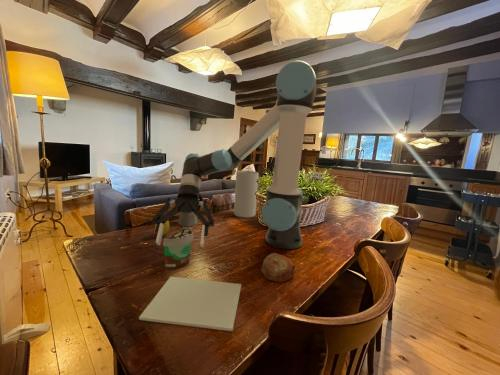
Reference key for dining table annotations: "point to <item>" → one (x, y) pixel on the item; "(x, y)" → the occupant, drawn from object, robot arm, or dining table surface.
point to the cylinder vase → (245, 194)
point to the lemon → (165, 227)
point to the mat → (195, 304)
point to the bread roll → (277, 267)
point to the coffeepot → (189, 217)
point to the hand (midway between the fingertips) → (179, 244)
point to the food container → (178, 249)
